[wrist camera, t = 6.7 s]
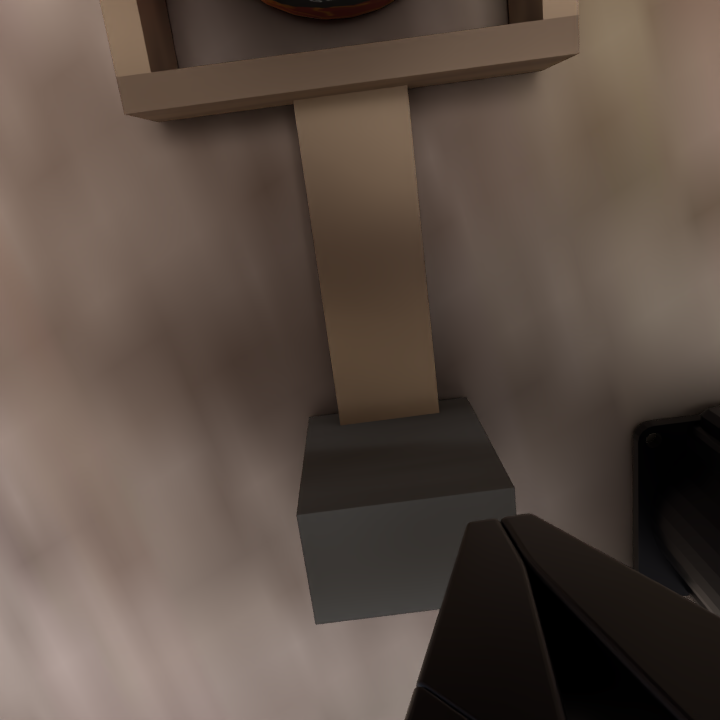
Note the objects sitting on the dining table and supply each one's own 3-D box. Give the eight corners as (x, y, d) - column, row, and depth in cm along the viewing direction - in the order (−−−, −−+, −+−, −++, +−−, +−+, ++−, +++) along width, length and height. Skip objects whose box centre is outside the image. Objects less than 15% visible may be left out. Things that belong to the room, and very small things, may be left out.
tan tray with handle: (558, 471, 21) (637, 584, 16) (238, 512, 22) (200, 639, 16) (519, -432, 15) (632, -809, 9) (59, -366, 15) (-117, -697, 9)
